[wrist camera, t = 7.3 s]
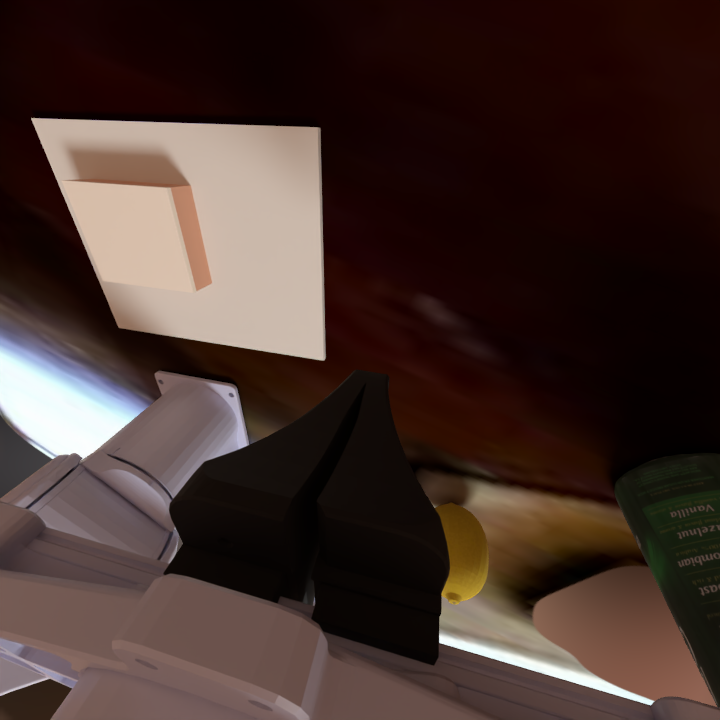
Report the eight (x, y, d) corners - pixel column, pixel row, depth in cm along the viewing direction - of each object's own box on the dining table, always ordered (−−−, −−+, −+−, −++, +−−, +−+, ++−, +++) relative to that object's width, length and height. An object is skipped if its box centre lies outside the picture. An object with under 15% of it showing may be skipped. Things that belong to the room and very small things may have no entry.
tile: (193, 293, 20) (102, 280, 22) (212, 283, 22) (126, 272, 23) (166, 187, 17) (61, 180, 18) (190, 185, 19) (93, 178, 20)
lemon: (467, 528, 31) (473, 628, 24) (413, 509, 31) (405, 602, 24) (494, 498, 28) (510, 603, 21) (434, 476, 28) (431, 573, 21)
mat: (325, 357, 24) (323, 360, 23) (122, 325, 27) (118, 327, 26) (320, 127, 16) (317, 127, 16) (38, 119, 19) (30, 118, 19)
